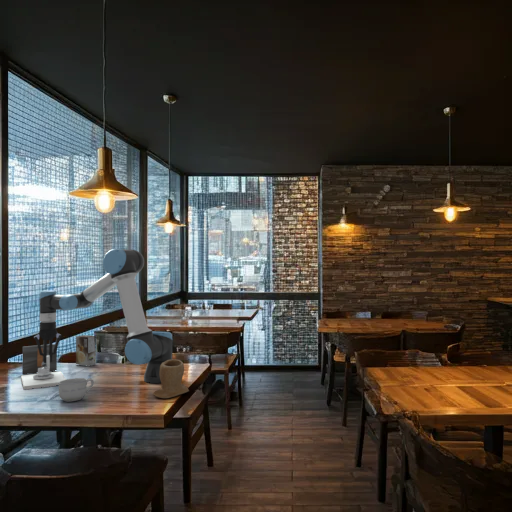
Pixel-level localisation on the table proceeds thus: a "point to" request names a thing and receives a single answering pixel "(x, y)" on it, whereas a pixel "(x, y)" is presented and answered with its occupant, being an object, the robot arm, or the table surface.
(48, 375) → the grey metal lever
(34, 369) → the board
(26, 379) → the base plate
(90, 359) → the coffee box
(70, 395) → the teacup
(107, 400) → the table surface
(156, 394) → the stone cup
